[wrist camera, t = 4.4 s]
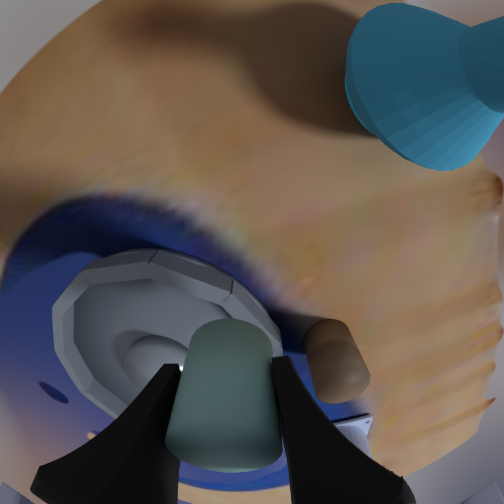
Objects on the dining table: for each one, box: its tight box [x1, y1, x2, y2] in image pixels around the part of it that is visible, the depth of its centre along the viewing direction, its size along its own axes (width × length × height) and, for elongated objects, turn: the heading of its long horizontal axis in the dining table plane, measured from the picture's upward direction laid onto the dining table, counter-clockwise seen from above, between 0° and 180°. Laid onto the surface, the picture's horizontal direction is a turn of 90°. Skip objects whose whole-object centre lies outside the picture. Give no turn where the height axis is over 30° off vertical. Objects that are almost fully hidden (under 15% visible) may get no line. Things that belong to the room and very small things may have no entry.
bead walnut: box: [303, 319, 370, 404], centre depth 17 cm, size 4×4×5 cm
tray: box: [52, 248, 283, 419], centre depth 19 cm, size 18×18×3 cm
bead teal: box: [165, 318, 283, 472], centre depth 9 cm, size 4×4×5 cm
